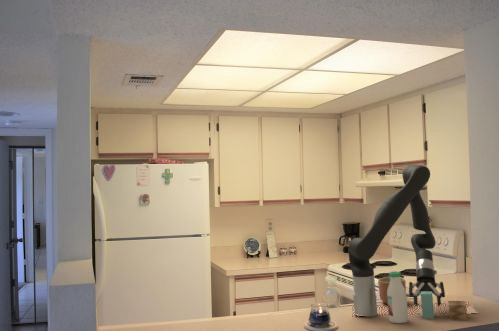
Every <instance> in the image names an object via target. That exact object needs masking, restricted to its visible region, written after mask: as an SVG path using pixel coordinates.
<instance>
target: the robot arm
mask: <svg viewBox="0 0 499 331" xmlns="http://www.w3.org/2000/svg"><path fill="white" fill-rule="evenodd" d="M401 174H402V181H403V184H404V185H403V187H402V188H400V189H398V190H397V191H396V192H394V193H392V194H391V195H389V197H387V198H385V200H384V201H383V203H382V204H381V205H380V206H379V208H378V209H377V211H376V213H375V216H374V219H373V222H372V225H371V227H370V228H369V230H368V232H367V233H365V235H364V236H363V237H355V238H353V239H352V240H351V241H350V242H349V244H348V246H347V247H348V259H349V260H348V261H349V267H350V270H351V273H352V285H353V294H352V297H353V308H354V315H355V314H358V315H362V316H373V317H375V315H376V316H377V315H378V306H377V305H378V304H377V292H376V283H375V281H376V280H375V272H374V271H375V270H374V267H373V266H372V264H371V263H370V259H371V258H373V257H374V255H375V253H376V252H377V250H378V248H379V246H380V245H381V243H382V242H383V240H384V238H385V237H386V236H387V234H388V233H389V232H390V230H391V229H392V227H393V226H394V225H395V224H396V222H397V221H398V220H399V218H400V217H401V216H402V214H403V213H404V212H405V210H406V209H407V207H408V206H409V205H410V211H411V217H412V218H411V220H412V225H413V229H415V230H417V231H421V232H423V233H414V234H413V235H412V236H411V238H410V242H411V247H412V248H413V251H414V252H415V261H416V263H415V272H416V274H415V275H416V282H415V283H414V282H412V281H409V282H408V295H409V298H413V304H414V305H415V306H416V307H417V306H419V304H418V300H419V299H418V297H419V296H421V291H432V295H434V296H435V297H436V300H437V301H436V302H437V307H440V306H441V304H442V299H441V298H445V297H446V292H445V291H446V290H445V287H444V282H443V281H440V282H436V276H435V267H434V266H435V265H434V259H433V253H432V251H430V250H432V249H434V248H435V246H436V242H437V241H436V239H435V236H434V233H433V231H432V229H431V226H430V221H429V220H430V219H429V218H430V217H429V213H428V209H427V206H426V203H425V202H424V200H423V197H422V196H421V192H420V191H421V190H422V189H423V188H424V187H425V186H426V185H427V183H428V182H429V181H430V178H431V171H430V169H429V167H427V166H424V165H421V164H412V163H411V164H407V165H406V166H404V167H403V170H402V173H401ZM415 287H416V290H415V291H414V292H413V289H414V288H415ZM437 287H438V289H440V292H439V291H438V290H437Z"/></svg>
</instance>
